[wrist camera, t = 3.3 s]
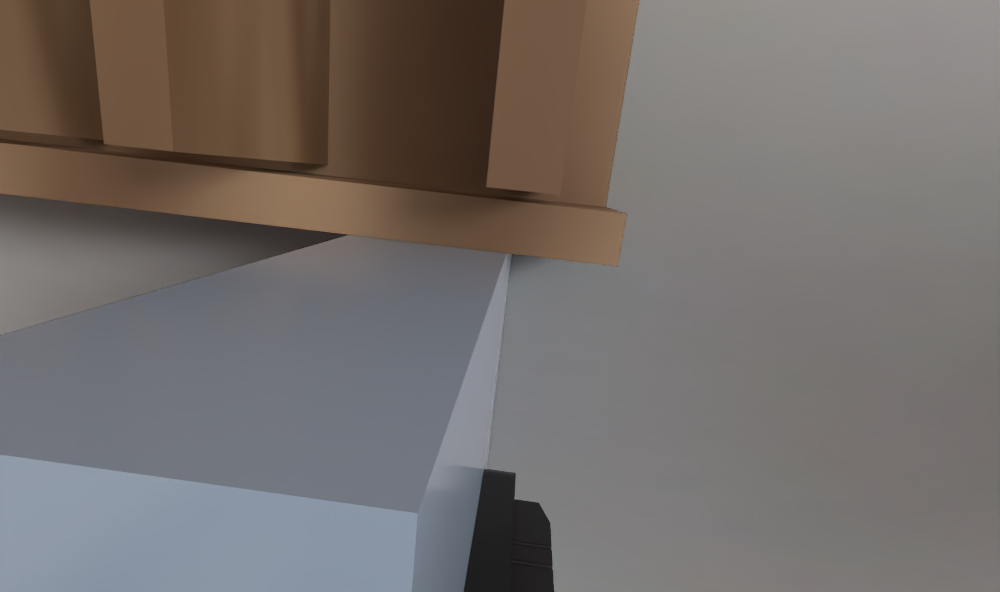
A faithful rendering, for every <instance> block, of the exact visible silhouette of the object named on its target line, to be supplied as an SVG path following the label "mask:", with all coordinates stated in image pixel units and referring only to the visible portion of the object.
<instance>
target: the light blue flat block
mask: <svg viewBox="0 0 1000 592" xmlns="http://www.w3.org/2000/svg"><path fill="white" fill-rule="evenodd" d="M511 256H512V254H509V253H501V252H492V251H484V250H475V249H467V248H458V247H450V246H441V245H433V244H424V243H416V242H407V241H399V240H390V239H382V238H373V237H365V236H356V235H347V236H344V237H340V238H337V239H333V240H330V241H326V242H323V243H319V244H316V245H312V246H309V247H305V248H302V249H298V250H295V251H291V252H288V253H284V254H281V255H277V256H274V257H270V258H267V259H264V260H260V261H257V262H253V263H250V264H246V265H243V266H239V267H236V268H232V269H229V270H225V271H222V272H218V273H215V274H211V275H208V276H204V277H201V278H197V279H194V280H190V281H187V282H184V283H180V284H177V285H173V286H170V287H166V288H163V289H159V290H156V291H152V292H149V293H145V294H142V295H138V296H135V297H131V298H128V299H124V300H121V301H117V302H114V303H110V304H107V305H104V306H100V307H97V308H93V309H90V310H86V311H83V312H79V313H76V314H72V315H69V316H65V317H62V318H58V319H55V320H51V321H48V322H44V323H41V324H37V325H34V326H30V327H27V328H24V329H20V330H17V331H13V332H10V333H6V334H3V335H0V592H464V586H465V580H466V574H467V568H468V562H469V556H470V550H471V544H472V538H473V532H474V526H475V520H476V514H477V508H478V502H479V495H480V489H481V483H482V477H483V471H484V469H487V463H488V454H489V446H490V437H491V428H492V420H493V411H494V402H495V394H496V385H497V376H498V368H499V359H500V351H501V342H502V333H503V325H504V316H505V307H506V299H507V290H508V282H509V273H510V264H511Z"/></svg>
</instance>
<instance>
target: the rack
mask: <svg viewBox="0 0 1000 592" xmlns="http://www.w3.org/2000/svg"><path fill="white" fill-rule="evenodd" d="M638 5H639V0H0V194H8V195H17V196H25V197H34V198H42V199H51V200H59V201H68V202H76V203H85V204H93V205H102V206H110V207H119V208H127V209H136V210H144V211H153V212H161V213H170V214H178V215H187V216H195V217H204V218H212V219H221V220H229V221H238V222H246V223H255V224H263V225H272V226H280V227H288V228H297V229H305V230H314V231H322V232H331V233H339V234H348V235H356V236H365V237H373V238H382V239H390V240H399V241H407V242H416V243H424V244H433V245H441V246H450V247H458V248H467V249H475V250H484V251H492V252H501V253H509V254H518V255H526V256H535V257H543V258H552V259H560V260H569V261H577V262H585V263H594V264H602V265H611V266H618V261H619V255H620V250H621V244H622V238H623V232H624V227H625V221H626V215H627V214H625V213H622V212H619V211H616V210H613V209H610V208H607V207H606V202H607V196H608V190H609V184H610V177H611V171H612V165H613V159H614V153H615V147H616V141H617V134H618V128H619V122H620V116H621V110H622V104H623V97H624V91H625V85H626V79H627V73H628V67H629V60H630V54H631V48H632V42H633V36H634V30H635V23H636V17H637V11H638Z"/></svg>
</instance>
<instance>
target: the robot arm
mask: <svg viewBox="0 0 1000 592" xmlns="http://www.w3.org/2000/svg"><path fill="white" fill-rule="evenodd" d="M515 476H516V474H515V473H511V472H504V471H497V470H489V469H484V471H483V477H482V483H481V489H480V495H479V502H478V508H477V514H476V520H475V526H474V532H473V538H472V544H471V550H470V556H469V562H468V568H467V574H466V580H465V586H464V592H554V584H553V570H552V550H551V530H550V522H549V520H548V518H547V517H546V515H545V513H544V511H543V510H542V508H541V506H540V504H539V503H536V502H529V501H522V500H514V495H515Z"/></svg>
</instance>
